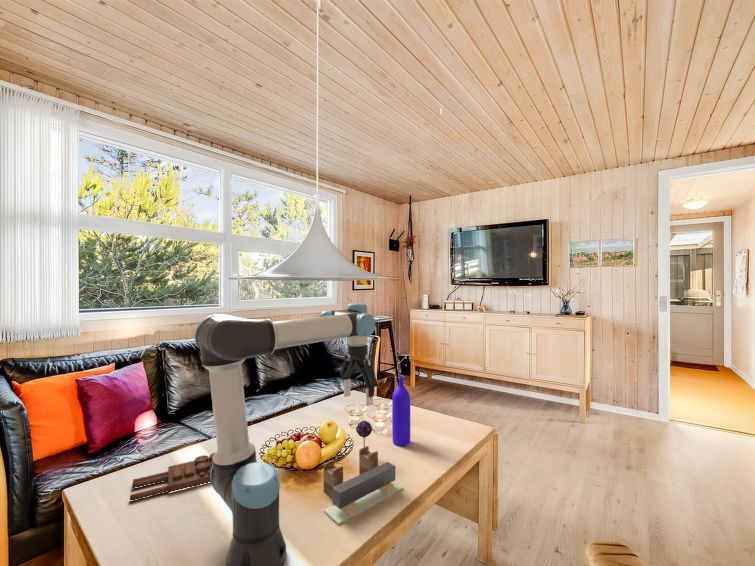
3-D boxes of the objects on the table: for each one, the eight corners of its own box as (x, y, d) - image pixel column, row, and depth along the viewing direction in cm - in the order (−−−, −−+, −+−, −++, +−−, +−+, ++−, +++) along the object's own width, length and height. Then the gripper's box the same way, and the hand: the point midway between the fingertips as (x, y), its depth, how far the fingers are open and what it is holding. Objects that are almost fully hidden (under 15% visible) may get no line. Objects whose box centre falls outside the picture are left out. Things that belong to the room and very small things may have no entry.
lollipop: (370, 461, 144) (370, 425, 144) (354, 460, 145) (354, 423, 145) (374, 453, 151) (373, 418, 151) (358, 452, 152) (358, 417, 152)
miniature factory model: (226, 466, 132) (129, 491, 117) (227, 479, 132) (129, 506, 117) (221, 449, 146) (133, 469, 131) (221, 461, 146) (134, 482, 131)
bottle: (389, 440, 163) (388, 375, 163) (404, 437, 166) (404, 373, 166) (397, 448, 155) (397, 380, 155) (413, 444, 159) (413, 378, 159)
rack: (333, 499, 119) (333, 470, 119) (323, 491, 124) (323, 463, 124) (378, 477, 132) (377, 451, 132) (367, 470, 137) (367, 445, 137)
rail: (339, 509, 109) (339, 493, 109) (332, 503, 112) (332, 487, 112) (395, 480, 125) (395, 466, 125) (387, 475, 128) (387, 461, 128)
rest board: (338, 525, 107) (338, 515, 107) (323, 512, 113) (323, 502, 113) (403, 488, 125) (403, 480, 125) (388, 479, 131) (388, 471, 131)
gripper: (387, 347, 126) (387, 406, 126) (346, 339, 145) (346, 390, 145) (371, 350, 121) (371, 412, 121) (330, 341, 140) (331, 394, 140)
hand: (357, 400), depth 133 cm, fingers open, 13 cm apart
